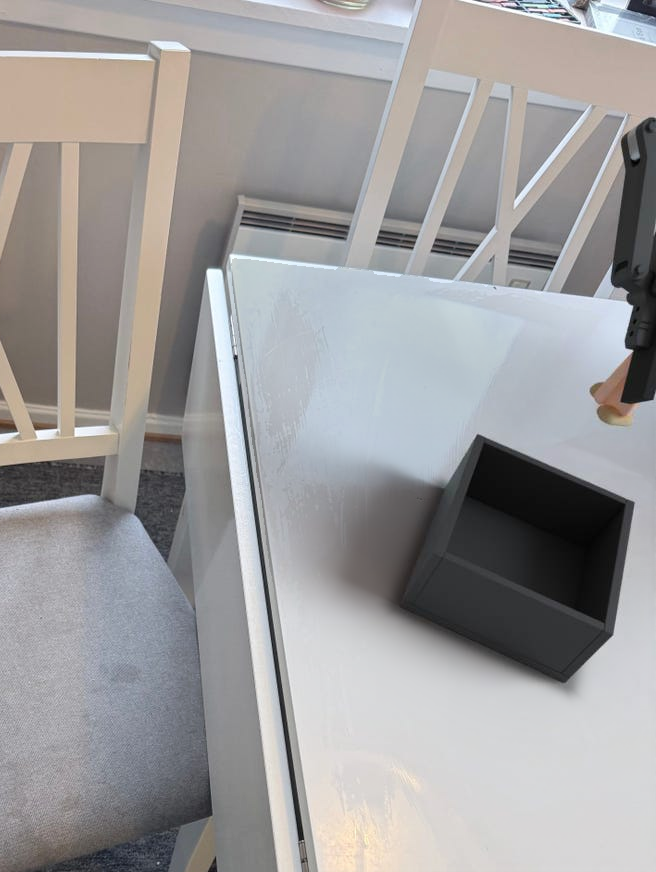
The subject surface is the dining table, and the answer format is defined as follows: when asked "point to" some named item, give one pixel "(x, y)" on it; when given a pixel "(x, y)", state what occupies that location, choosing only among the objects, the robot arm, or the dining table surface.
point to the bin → (523, 559)
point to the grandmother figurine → (614, 397)
